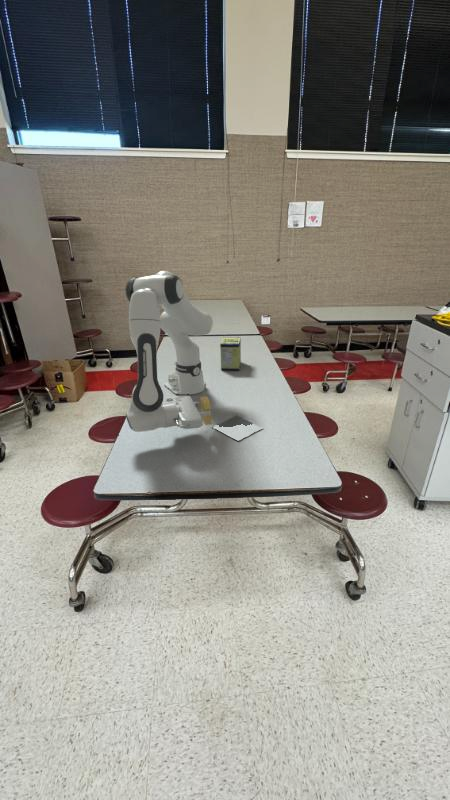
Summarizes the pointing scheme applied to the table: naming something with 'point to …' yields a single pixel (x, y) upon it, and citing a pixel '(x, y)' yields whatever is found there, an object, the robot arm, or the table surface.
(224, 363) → the protein box
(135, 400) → the robot arm
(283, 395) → the table surface
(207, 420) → the box
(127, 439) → the table surface
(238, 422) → the mat
